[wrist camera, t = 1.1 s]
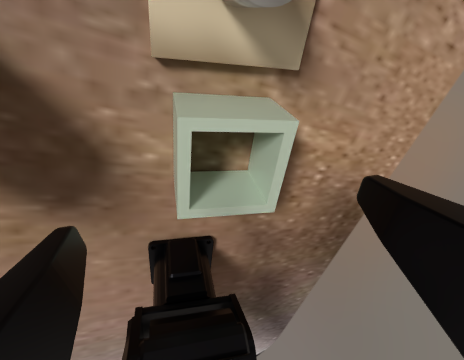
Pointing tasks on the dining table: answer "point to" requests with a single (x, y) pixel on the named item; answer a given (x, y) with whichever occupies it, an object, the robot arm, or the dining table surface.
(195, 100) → the sleeve
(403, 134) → the dining table surface
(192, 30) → the knob on square plate
